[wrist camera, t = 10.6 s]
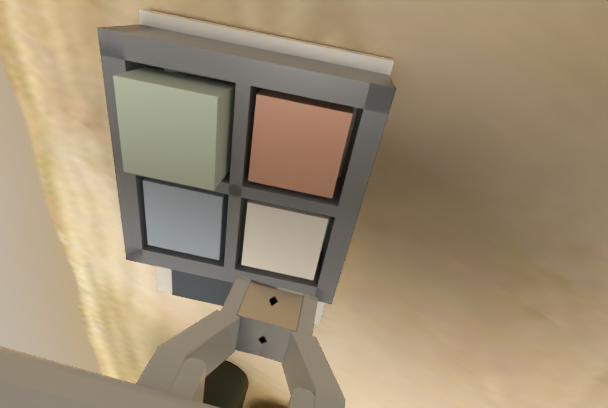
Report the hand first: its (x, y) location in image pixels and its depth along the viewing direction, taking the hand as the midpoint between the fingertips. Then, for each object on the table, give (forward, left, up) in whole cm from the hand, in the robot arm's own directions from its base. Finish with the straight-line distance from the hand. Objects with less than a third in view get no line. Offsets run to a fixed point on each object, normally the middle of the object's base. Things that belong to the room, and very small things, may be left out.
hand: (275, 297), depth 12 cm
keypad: (+3, -1, -9) cm, 10 cm away
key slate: (+5, -3, -7) cm, 9 cm away
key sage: (+1, -7, -6) cm, 9 cm away
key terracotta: (-2, -3, -7) cm, 8 cm away
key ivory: (+1, +1, -7) cm, 7 cm away
